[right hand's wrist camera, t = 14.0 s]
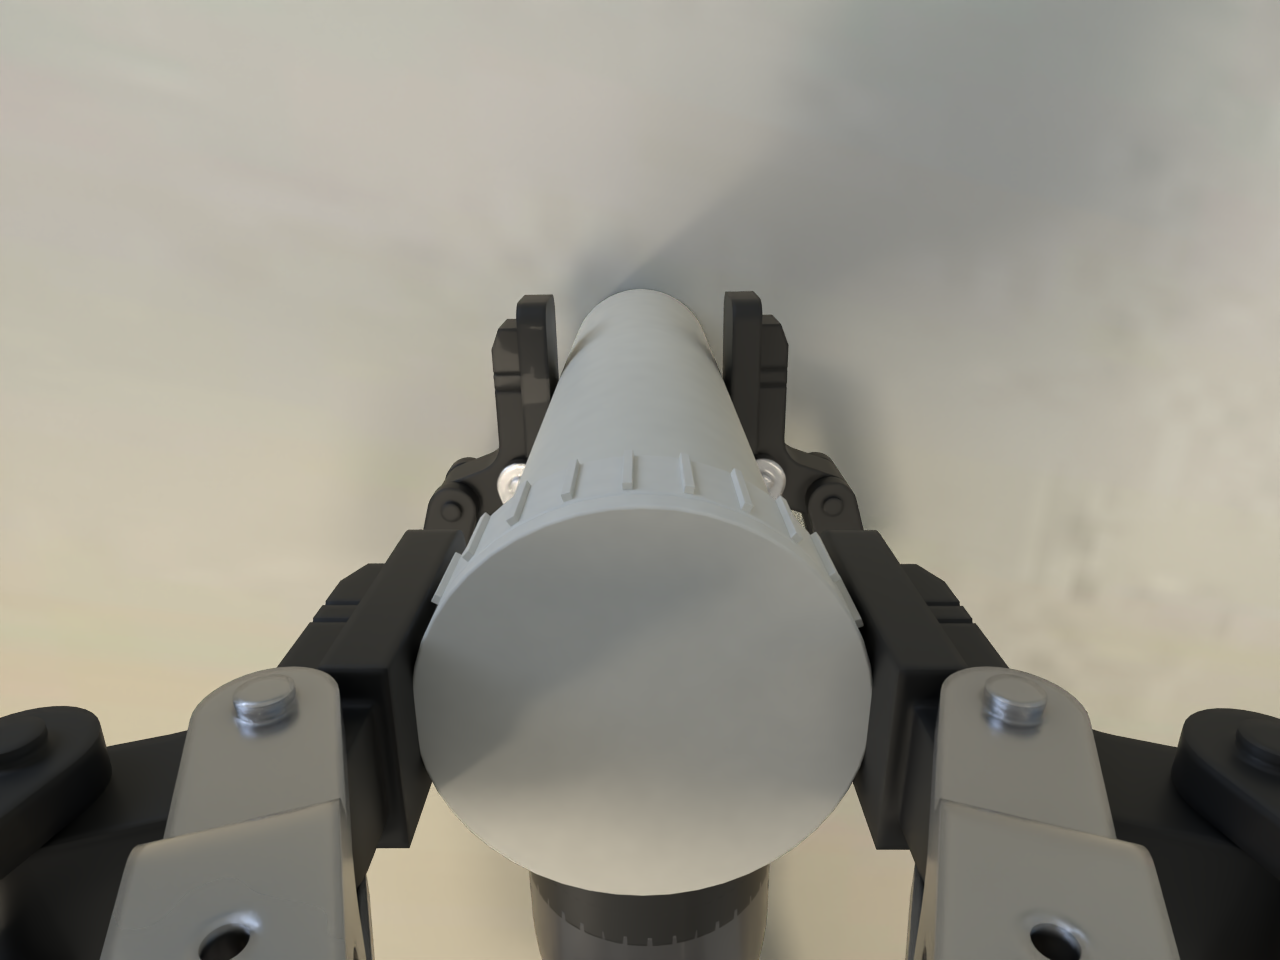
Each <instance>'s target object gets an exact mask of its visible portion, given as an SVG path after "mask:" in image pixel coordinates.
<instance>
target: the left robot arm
mask: <svg viewBox="0 0 1280 960" xmlns="http://www.w3.org/2000/svg"><path fill="white" fill-rule="evenodd" d="M492 361H493V372H494V385H495V397H496V409H497V421H498V433H499V449H498V450H496V451H495V452H493V453H490V454H488V455H485V456H483V457H480V458H477V459H476V458H471V457H467V458H462V459H459V460H458V461H456V462H455V463H454V464H453V465H452V467H451V468H450V470H449V471H448V473H447V475H446V478H445V481H444V482H443V484H442V486H440V487H439V488H438V489H437V490H436V491H435V493H434V494H433V496H432V498H431V499H430V501H429V504H428V509H427V514H426V519H425V524H424V529H423V530H461V531H462V532H463V534H464V537H465V542H466V547H467V545H468V543H469V541H470V538H471V536H472V534H473V532H474V530H475V528H476V526H477V524H478V521H479V519H480V517H481V516H482V515H483V514H484V513H487V514H488V515H490V516H491V515H492V514H493V513H494V512H495V511H497V510H498V509H499V508H500V507H501V506H502V505H504V504H505V503H506V502H507V501H508V500H509V499H510V498H512V497H513V496H514V493H515V491H516V488H517V486H518V483H519V481H520V478H521V475H522V473H523V470H524V468H525V465H526V463H527V460H528V458H529V455H530V453H531V450H532V448H533V445H534V442H535V440H536V437H537V435H538V432H539V430H540V427H541V425H542V422H543V420H544V417H545V415H546V412H547V409H548V407H549V404H550V402H551V399H552V397H553V394H554V392H555V389H556V387H557V384H558V382H559V374H558V356H557V338H556V320H555V305H554V298H553V295H524V297H523V298H522V299H521V300H520V301H519V302H518V303H517V310H516V319H507V320H506V321H505V322H504V323H503V324H502V325H501V326H500V328H499V329H498V331H497V334H496V338H495V341H494V344H493V347H492ZM787 365H788V343H787V340H786V337H785V334H784V331H783V329H782V326H781V324H780V323H779V322H778V321H777V320H776V318H775V317H774V316H773V315H762V304H761V299H760V298H759V297H758V296H757V295H756V294H755V293H754V292H753V291H743V292H725V297H724V329H723V381H724V383H725V386H726V388H727V391H728V393H729V396H730V398H731V401H732V403H733V406H734V408H735V410H736V413H737V415H738V418H739V420H740V423H741V425H742V428H743V430H744V433H745V435H746V438H747V440H748V443H749V445H750V448H751V450H752V452H753V455H754V457H755V460H756V462H757V465H758V467H759V470H760V472H761V475H762V477H763V480H764V482H765V485H766V487H767V490H768V492H769V494H770V496H772V497H773V498H774V499H775V500H776V499H777V498H778V497H779V496H782V497H783V498H784V499H785V500H786V501H787V503H788V505H789V507H790V509H791V510H794V511H797V512H800V513H802V517H803V520H804V524H805V528H806V530H807V531H808V532H809V534H810V535H811V534H813V533H814V532H817V534H818V535H819V536H821V533H822V532H823V531H824V530H863V526H862V522H861V517H860V513H859V509H858V505H857V501H856V497H855V495H854V493H853V491H852V490H851V488H850V487H849V485H848V484H847V482H846V481H845V479H844V478H843V476H842V475H841V473H840V472H839V470H838V469H837V467H836V466H835V464H834V463H833V461H832V460H831V459H830V458H829V457H828V456H827V455H825V454H823V453H819V452H811V453H806V452H803V451H800V450H797V449H794V448H792V447H789V446H788V445H786V444H785V443H784V433H785V410H786V388H787V387H786V383H787ZM529 875H530V887H531V897H532V910H533V919H534V926H535V932H536V937H537V942H538V946H539V950H540V954H541V957H542V960H759V957H760V953H761V949H762V944H763V939H764V933H765V927H766V919H767V904H768V883H769V864H767V865H765V866H763V867H761V868H759V869H757V870H755V871H753V872H751V873H750V874H747V875H744V876H742V877H739V878H736V879H734V880H731V881H728V882H726V883H723V884H719V885H715V886H711V887H707V888H703V889H700V890H694V891H688V892H682V893H675V894H665V895H646V896H640V895H619V894H610V893H603V892H597V891H590V890H585V889H582V888H578V887H574V886H570V885H566V884H562V883H559V882H557V881H554V880H551V879H549V878H546V877H543V876H540V875H538V874H535V873H533V872H531V871H529Z"/></svg>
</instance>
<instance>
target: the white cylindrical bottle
mask: <svg viewBox="0 0 1280 960" xmlns="http://www.w3.org/2000/svg"><path fill="white" fill-rule="evenodd" d="M624 450H633V455H634V456H635V455H649V456H667V457H674V458H679V456H680V453H686V454H689V457H690V461H696V462H700V463H703V464H706V465H709V466H712V467H715V468H719V469H722V470H725V471H727V472H729V473H731V472H732V470H733V469H734V468H735V469H737V470H739V471H741V472H742V474H743V477H744V480H746V481H748V482H750V483H751V484H753V485H755V486H756V487H758V488H759V489H761V490H762V491H764V492H766V493H767V494H769V492H768V490H767V487H766V485H765V482H764V480H763V477H762V475H761V472H760V470H759V467H758V465H757V462H756V460H755V457H754V455H753V452H752V450H751V448H750V445H749V443H748V440H747V438H746V435H745V433H744V430H743V428H742V425H741V423H740V420H739V418H738V415H737V413H736V410H735V408H734V406H733V403H732V401H731V398H730V396H729V393H728V391H727V388H726V386H725V383H724V381H723V378H722V376H721V373H720V371H719V368H718V366H717V364H716V361H715V359H714V356H713V354H712V351H711V349H710V346H709V344H708V341H707V339H706V336H705V334H704V331H703V329H702V327H701V325H700V323H699V321H698V320H697V318H696V317H695V316H694V314H693V313H692V312H691V311H690V310H689V309H688V308H687V307H686V306H685V305H684V304H683V303H681V302H680V301H679V300H677V299H675V298H673V297H672V296H670V295H667V294H665V293H662V292H658V291H654V290H647V289H634V290H627V291H624V292H620V293H617V294H615V295H612V296H610V297H608V298H607V299H605V300H603V301H602V302H601V303H599V304H598V305H597V306H596V307H594V309H593V310H592V311H591V312H590V313H589V314H588V315H587V317H586V318H585V319H584V321H583V323H582V325H581V326H580V328H579V331H578V333H577V336H576V338H575V341H574V343H573V346H572V349H571V351H570V354H569V356H568V359H567V361H566V364H565V366H564V369H563V371H562V374H561V376H560V379H559V382H558V384H557V387H556V389H555V392H554V394H553V397H552V399H551V402H550V404H549V407H548V409H547V412H546V415H545V417H544V420H543V422H542V425H541V427H540V430H539V432H538V435H537V437H536V440H535V442H534V445H533V448H532V450H531V453H530V455H529V458H528V460H527V463H526V465H525V468H524V470H523V473H522V475H521V478H520V481H519V483H518V486H517V488H516V491H515V493H514V496H515V495H516V493H517V491H518V488H519V486H520V484H521V483H523V482H525V481H526V480H527V481H528V482H529V483H530V485H532V484H533V483H535V482H537V481H539V480H541V479H543V478H545V477H547V476H549V475H552V474H554V473H556V472H558V471H560V470H563V469H566V468H568V464H569V461H571V460H574V459H578V461H579V464H582V463H585V462H589V461H595V460H600V459H605V458H610V457H619V456H624ZM769 495H770V494H769Z"/></svg>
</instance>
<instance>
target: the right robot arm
mask: <svg viewBox="0 0 1280 960" xmlns="http://www.w3.org/2000/svg"><path fill="white" fill-rule="evenodd" d="M820 538H821V540H822V542H823V544H824V546H825V548H826V550H827V552H828V554H829V556H830V558H831V560H832V562H833V564H834V566H835V568H836V570H837V572H838V574H839V575H840V577H841V579H842V581H843V583H844V585H845V587H846V589H847V591H848V593H849V595H850V597H851V599H852V601H853V603H854V605H855V607H856V609H857V611H858V613H859V615H860V617H861V619H862V622H863V625H864V626H862V627H859V628H858V629H859V631H860V633H861V636H862V638H863V640H864V643H865V647H866V650H867V654H868V657H869V661H870V664H871V670H872V681H873V685H872V696H871V705H870V714H869V723H868V732H867V740H866V748H865V754H864V757H863V760H862V763H861V766H860V768H859V770H858V772H857V774H856V776H855V778H854V780H853V784H854V787H855V790H856V792H857V795H858V798H859V801H860V804H861V807H862V810H863V812H864V815H865V818H866V821H867V824H868V827H869V830H870V832H871V835H872V838H873V841H874V844H875V847H876V850H910V851H911V854H912V856H913V859H914V861H915V868H914V875H913V881H912V888H911V895H910V907H909V920H908V933H907V945H906V958H905V960H1280V719H1278V718H1275V717H1272V716H1268V715H1264V714H1261V713H1256V712H1251V711H1246V710H1239V709H1227V708H1216V709H1206V710H1203V711H1199V712H1196V713H1194V714H1192V715H1190V716H1189V717H1188V718H1187V719H1186V721H1185V723H1184V725H1183V729H1182V732H1181V736H1180V740H1179V743H1178V747H1172V746H1167V745H1162V744H1157V743H1151V742H1146V741H1141V740H1136V739H1131V738H1126V737H1120V736H1116V735H1111V734H1107V733H1103V732H1099V731H1096V730H1093V729H1092V726H1091V722H1090V718H1089V716H1088V713H1087V711H1086V710H1085V708H1084V707H1083V705H1082V704H1081V703H1080V702H1079V701H1078V700H1077V699H1076V698H1075V697H1073V696H1072V695H1071V694H1070V693H1068V692H1067V691H1066V690H1064V689H1062V688H1061V687H1059V686H1058V685H1056V684H1054V683H1052V682H1050V681H1048V680H1046V679H1043V678H1041V677H1038V676H1035V675H1032V674H1029V673H1026V672H1023V671H1018V670H1014V669H1009V667H1008V666H1007V665H1006V663H1005V662H1004V661H1003V659H1002V658H1001V657H1000V655H999V654H998V653H997V651H996V650H995V649H994V647H993V646H992V645H991V643H990V642H989V641H988V639H987V638H986V637H985V635H984V634H983V633H982V631H981V630H980V629H979V627H978V626H977V625H976V623H972V618H971V617H970V615H969V614H968V613H967V611H966V610H965V608H964V607H963V606H960V602H959V600H958V599H957V598H956V596H955V595H954V594H953V592H952V591H951V590H950V588H949V587H948V586H947V584H946V583H945V582H944V581H943V580H941V579H939V578H938V577H936V576H935V575H933V574H931V573H930V572H928V571H926V570H925V569H923V568H922V567H920V566H918V565H917V564H900V563H899V562H898V560H897V559H896V557H895V556H894V554H893V553H892V551H891V550H890V548H889V547H888V545H887V544H886V542H885V541H884V539H883V538H882V536H881V535H880V533H879V532H878V531H876V530H824V531H823V532H822V533H821V536H820ZM465 549H466V542H465V537H464V534H463V532H462V531H461V530H407V531H406V532H405V534H404V535H403V537H402V538H401V540H400V541H399V543H398V544H397V546H396V547H395V549H394V551H393V552H392V554H391V555H390V557H389V558H388V560H387V561H386V563H385V564H367V565H365V566H364V567H362V568H360V569H359V570H357V571H356V572H354V573H352V574H351V575H349V576H348V577H346V578H344V579H343V580H341V581H340V582H339V584H338V585H337V586H336V588H335V589H334V590H333V592H332V593H331V595H330V596H329V597H328V599H327V600H326V605H322V607H321V608H320V609H319V611H318V612H317V614H316V615H315V616H314V618H313V622H310V623H309V624H308V626H307V627H306V628H305V630H304V631H303V633H302V634H301V635H300V637H299V638H298V639H297V641H296V642H295V643H294V645H293V646H292V648H291V649H290V650H289V652H288V653H287V654H286V656H285V657H284V658H283V660H282V661H281V662H280V664H279V665H278V667H277V668H271V669H266V670H262V671H257V672H254V673H251V674H248V675H245V676H242V677H239V678H237V679H234V680H232V681H230V682H228V683H226V684H224V685H222V686H221V687H219V688H218V689H216V690H214V691H213V692H212V693H210V694H209V695H208V696H206V697H205V698H204V699H203V700H202V701H201V702H200V703H199V704H198V705H197V707H196V708H195V710H194V711H193V713H192V716H191V718H190V722H189V726H188V730H187V731H183V732H179V733H174V734H170V735H165V736H159V737H154V738H149V739H144V740H139V741H134V742H129V743H123V744H118V745H113V746H108V747H106V744H105V740H104V736H103V733H102V729H101V725H100V722H99V720H98V718H97V717H96V716H95V715H94V714H93V713H92V712H90V711H88V710H86V709H82V708H78V707H70V706H52V707H42V708H36V709H31V710H26V711H22V712H18V713H14V714H10V715H7V716H4V717H1V718H0V960H375V958H374V945H373V933H372V920H371V907H370V895H369V888H368V881H367V875H366V873H367V871H368V868H369V866H370V863H371V861H372V858H373V856H374V853H375V850H376V848H410V845H411V842H412V839H413V836H414V833H415V830H416V827H417V824H418V821H419V818H420V816H421V813H422V810H423V807H424V804H425V801H426V798H427V795H428V792H429V789H430V786H431V783H432V780H431V778H430V776H429V774H428V772H427V770H426V768H425V765H424V763H423V760H422V757H421V754H420V747H419V739H418V730H417V721H416V712H415V703H414V693H413V671H414V665H415V662H416V658H417V654H418V651H419V647H420V644H421V641H422V639H423V636H424V634H425V632H426V630H427V628H428V625H429V623H430V621H431V619H432V617H433V614H434V612H435V610H436V608H437V606H438V605H437V604H435V603H433V602H431V600H432V598H433V596H434V594H435V592H436V590H437V588H438V586H439V584H440V582H441V580H442V578H443V576H444V574H445V572H446V570H447V568H448V566H449V564H450V562H451V560H452V558H453V556H454V554H455V552H457V553H459V554H461V555H462V553H463V552H464V550H465Z"/></svg>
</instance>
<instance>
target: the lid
mask: <svg viewBox="0 0 1280 960" xmlns="http://www.w3.org/2000/svg"><path fill="white" fill-rule="evenodd" d="M431 602H433V603H435V604H437V605H438V606H437V608H436V610H435V612H434V614H433V617H432V619H431V621H430V623H429V625H428V628H427V630H426V632H425V634H424V636H423V639H422V641H421V644H420V647H419V651H418V654H417V658H416V662H415V665H414V671H413V693H414V703H415V712H416V721H417V730H418V739H419V747H420V754H421V757H422V760H423V763H424V765H425V768H426V770H427V772H428V774H429V776H430V778H431V780H432V782H433V784H434V785H435V787H436V789H437V791H438V793H439V794H440V795H441V797H442V798H443V799H444V801H445V802H446V804H447V805H448V806H449V808H450V809H451V811H452V812H453V813H454V814H455V815H456V816H457V817H458V818H459V819H460V821H461V822H462V823H463V824H464V825H465V826H466V827H467V828H468V829H469V830H470V831H471V832H472V833H473V834H475V835H476V836H477V837H478V838H479V839H481V840H482V841H483V842H484V843H485V844H487V845H488V846H489V847H490V848H492V849H493V850H495V851H496V852H498V853H499V854H501V855H502V856H504V857H506V858H507V859H509V860H510V861H512V862H513V863H515V864H517V865H519V866H521V867H523V868H525V869H527V870H529V871H531V872H533V873H535V874H538V875H540V876H543V877H546V878H549V879H551V880H554V881H557V882H559V883H562V884H566V885H570V886H574V887H578V888H582V889H585V890H590V891H597V892H603V893H610V894H619V895H640V896H646V895H665V894H675V893H682V892H688V891H694V890H700V889H703V888H707V887H711V886H715V885H719V884H723V883H726V882H728V881H731V880H734V879H736V878H739V877H742V876H744V875H747V874H750V873H751V872H753V871H755V870H757V869H759V868H761V867H763V866H765V865H767V864H769V863H771V862H773V861H775V860H776V859H778V858H779V857H781V856H782V855H784V854H785V853H787V852H788V851H790V850H792V849H793V848H795V847H796V846H797V845H798V844H800V843H801V842H802V841H803V840H804V839H806V838H807V837H808V836H809V835H810V834H811V833H813V832H814V831H815V830H816V829H817V828H818V827H819V826H820V825H821V824H822V823H823V822H824V820H825V819H826V818H827V817H828V816H829V815H830V814H831V813H832V812H833V811H834V809H835V808H836V806H837V805H838V804H839V802H840V801H841V799H842V798H843V797H844V795H845V794H846V792H847V791H848V789H849V787H850V785H851V784H852V782H853V780H854V778H855V776H856V774H857V772H858V770H859V768H860V766H861V763H862V760H863V757H864V754H865V748H866V740H867V732H868V723H869V714H870V705H871V696H872V685H873V681H872V670H871V664H870V661H869V657H868V654H867V650H866V647H865V643H864V640H863V638H862V636H861V633H860V631H859V629H858V628H859V627H862V626H864V625H863V622H862V619H861V617H860V615H859V613H858V611H857V609H856V607H855V605H854V603H853V601H852V599H851V597H850V595H849V593H848V591H847V589H846V587H845V585H844V583H843V581H842V579H841V577H840V575H839V574H838V572H837V570H836V568H835V566H834V564H833V562H832V560H831V558H830V556H829V554H828V552H827V550H826V548H825V546H824V544H823V542H822V540H821V538H820V536H819V535H818V534H817V532H814V533H813V534H811V535H810V534H809V532H808V531H807V530H806V529H805V528H804V527H803V526H802V525H801V523H800V522H799V521H798V520H797V519H796V518H795V517H794V516H793V514H792V512H791V510H790V507H789V505H788V503H787V501H786V500H785V499H784V498H783V497H782V496H779V497H778V498H777V499H776V500H775V499H774V498H773V497H772V496H770V495H769V494H767V493H766V492H764V491H762V490H761V489H759V488H758V487H756V486H755V485H753V484H751V483H750V482H748V481H746V480H744V477H743V474H742V472H741V471H739V470H737V469H735V468H734V469H733V470H732V472H731V473H729V472H727V471H725V470H722V469H719V468H715V467H712V466H709V465H706V464H703V463H700V462H696V461H690V457H689V454H686V453H680V456H679V458H674V457H667V456H649V455H635V456H634V455H633V450H624V456H619V457H610V458H605V459H600V460H595V461H589V462H585V463H582V464H579V461H578V459H574V460H571V461H569V464H568V468H566V469H563V470H560V471H558V472H556V473H554V474H552V475H549V476H547V477H545V478H543V479H541V480H539V481H537V482H535V483H533V484H532V485H530V483H529V482H528V481H527V480H526V481H525V482H523V483H521V484H520V486H519V488H518V491H517V493H516V495H515V496H513V497H512V498H510V499H509V500H508V501H507V502H506V503H505V504H504V505H502V506H501V507H500V508H499V509H498V510H497V511H495V512H494V513H493V514H492V515H491V516H490V515H488V514H487V513H484V514H483V515H482V516H481V517H480V519H479V521H478V524H477V526H476V528H475V530H474V532H473V534H472V536H471V538H470V541H469V543H468V545H467V547H466V549H465V550H464V552H463V553H462V555H461V554H459V553H457V552H455V554H454V556H453V558H452V560H451V562H450V564H449V566H448V568H447V570H446V572H445V574H444V576H443V578H442V580H441V582H440V584H439V586H438V588H437V590H436V592H435V594H434V596H433V598H432V600H431Z"/></svg>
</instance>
